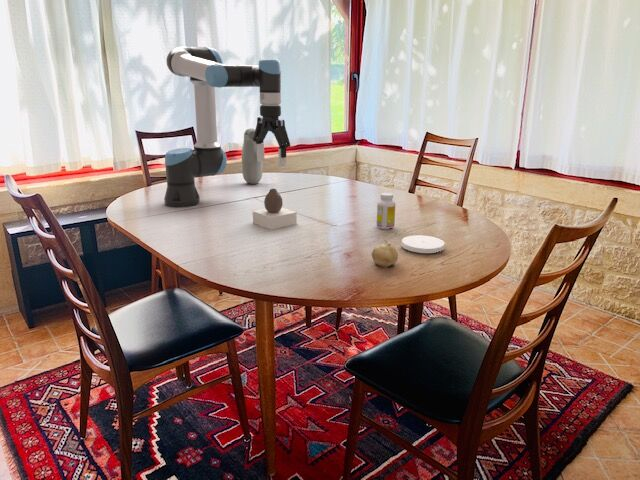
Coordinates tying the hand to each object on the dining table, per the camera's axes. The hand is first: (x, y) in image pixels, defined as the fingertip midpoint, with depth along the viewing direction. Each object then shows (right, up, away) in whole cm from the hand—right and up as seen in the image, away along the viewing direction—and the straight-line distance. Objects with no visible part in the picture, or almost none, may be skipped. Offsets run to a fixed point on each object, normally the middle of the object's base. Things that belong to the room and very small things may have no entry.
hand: (271, 163), depth 188 cm
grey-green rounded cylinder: (-17, +1, +75) cm, 77 cm away
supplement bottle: (+43, -24, +2) cm, 49 cm away
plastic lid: (+52, -32, -20) cm, 64 cm away
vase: (0, -18, +5) cm, 18 cm away
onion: (+38, -36, -35) cm, 63 cm away
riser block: (+1, -22, +6) cm, 23 cm away
